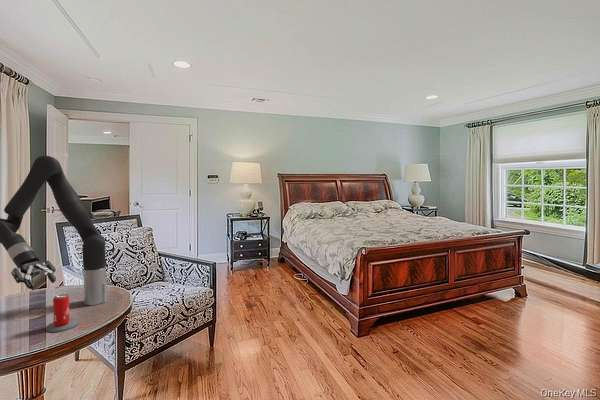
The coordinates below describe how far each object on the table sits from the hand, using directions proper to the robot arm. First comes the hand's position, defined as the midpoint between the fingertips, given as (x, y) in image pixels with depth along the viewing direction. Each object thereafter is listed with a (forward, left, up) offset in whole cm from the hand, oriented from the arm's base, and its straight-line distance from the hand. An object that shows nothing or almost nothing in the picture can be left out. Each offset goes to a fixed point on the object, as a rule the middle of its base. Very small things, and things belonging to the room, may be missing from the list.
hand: (43, 284), depth 130 cm
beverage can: (-7, +6, -16) cm, 19 cm away
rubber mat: (-8, +6, -17) cm, 19 cm away
